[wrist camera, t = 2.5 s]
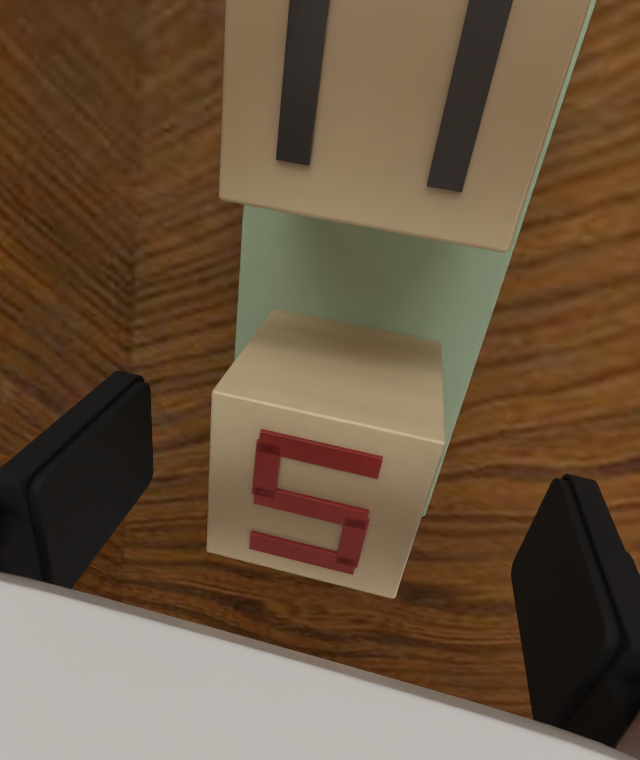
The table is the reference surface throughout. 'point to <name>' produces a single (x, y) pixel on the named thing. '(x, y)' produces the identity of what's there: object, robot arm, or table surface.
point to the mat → (378, 281)
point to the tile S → (325, 450)
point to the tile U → (393, 110)
